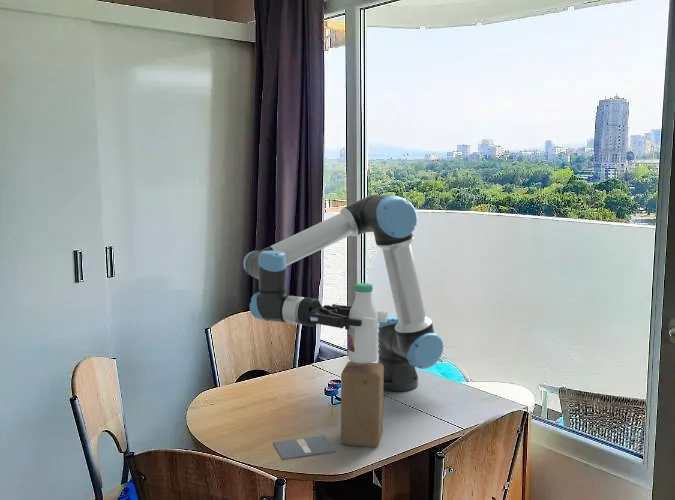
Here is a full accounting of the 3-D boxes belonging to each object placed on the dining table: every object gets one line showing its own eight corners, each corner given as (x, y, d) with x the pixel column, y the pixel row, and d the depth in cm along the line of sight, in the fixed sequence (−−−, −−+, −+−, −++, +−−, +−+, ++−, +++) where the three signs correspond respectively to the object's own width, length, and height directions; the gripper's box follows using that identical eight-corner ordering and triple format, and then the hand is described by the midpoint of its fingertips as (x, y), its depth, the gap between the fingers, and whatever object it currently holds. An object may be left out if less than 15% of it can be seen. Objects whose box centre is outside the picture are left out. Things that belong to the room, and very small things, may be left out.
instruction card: (324, 436, 171) (324, 434, 171) (336, 451, 161) (336, 450, 161) (273, 443, 166) (273, 441, 166) (282, 459, 157) (282, 458, 157)
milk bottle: (380, 356, 168) (382, 282, 166) (372, 365, 161) (374, 288, 158) (353, 353, 171) (354, 280, 168) (344, 362, 164) (344, 286, 161)
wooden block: (378, 449, 163) (379, 374, 160) (340, 445, 165) (340, 371, 162) (383, 433, 173) (384, 362, 170) (347, 430, 175) (347, 359, 172)
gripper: (320, 316, 182) (395, 325, 172) (283, 333, 164) (364, 344, 154) (320, 290, 181) (395, 298, 171) (283, 304, 163) (364, 314, 153)
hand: (380, 320), depth 162 cm, fingers closed on milk bottle, 7 cm apart
